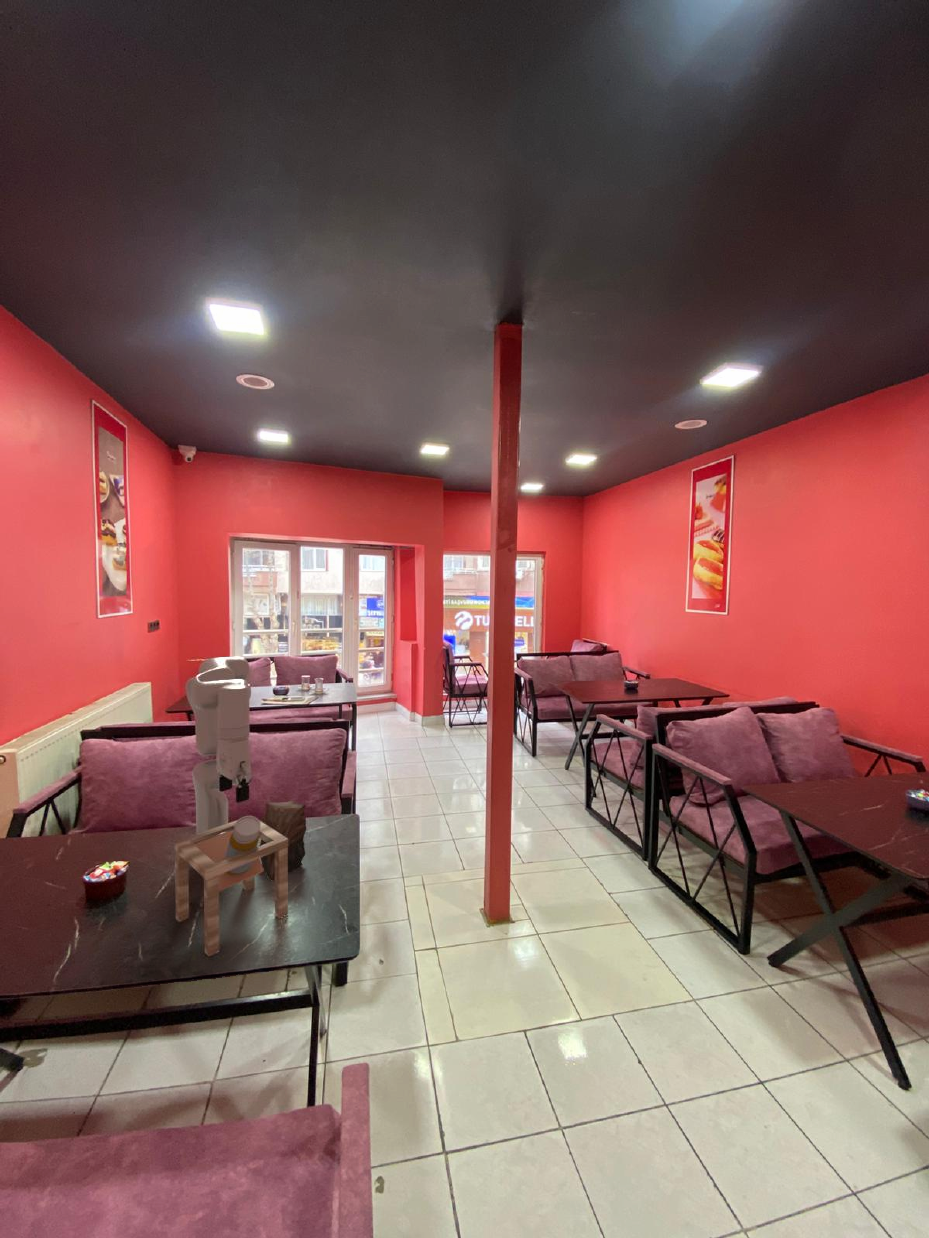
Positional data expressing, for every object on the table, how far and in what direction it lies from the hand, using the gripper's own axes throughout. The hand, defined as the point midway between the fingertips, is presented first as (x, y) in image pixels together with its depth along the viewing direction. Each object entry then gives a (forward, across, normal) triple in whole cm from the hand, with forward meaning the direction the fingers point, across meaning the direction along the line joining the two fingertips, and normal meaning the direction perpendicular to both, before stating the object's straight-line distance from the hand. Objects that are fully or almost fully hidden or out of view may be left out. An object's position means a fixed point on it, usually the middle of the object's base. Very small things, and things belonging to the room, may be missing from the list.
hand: (234, 795), depth 127 cm
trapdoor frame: (+34, -1, 0) cm, 34 cm away
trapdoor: (+19, -3, 0) cm, 19 cm away
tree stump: (+34, -13, +20) cm, 42 cm away
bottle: (+19, 0, +1) cm, 19 cm away
